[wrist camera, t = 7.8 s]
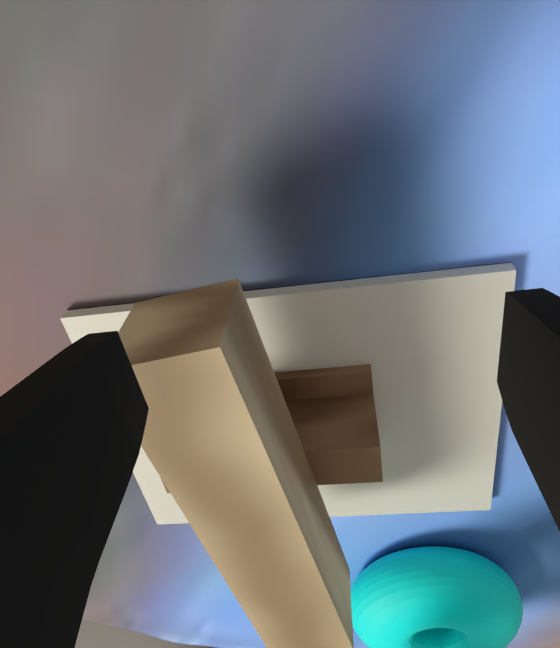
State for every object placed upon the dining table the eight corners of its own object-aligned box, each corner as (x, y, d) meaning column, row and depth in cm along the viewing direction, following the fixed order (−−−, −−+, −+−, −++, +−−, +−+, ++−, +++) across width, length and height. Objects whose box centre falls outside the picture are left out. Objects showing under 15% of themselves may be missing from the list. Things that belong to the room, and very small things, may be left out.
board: (511, 262, 19) (516, 270, 19) (487, 500, 27) (490, 509, 26) (66, 310, 22) (60, 318, 21) (160, 515, 29) (157, 524, 29)
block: (370, 364, 21) (378, 424, 19) (376, 437, 24) (384, 501, 21) (166, 381, 23) (144, 440, 20) (191, 449, 25) (174, 510, 22)
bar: (238, 278, 15) (219, 347, 13) (349, 569, 24) (353, 650, 21) (135, 302, 16) (95, 372, 13) (277, 576, 25) (272, 656, 22)
